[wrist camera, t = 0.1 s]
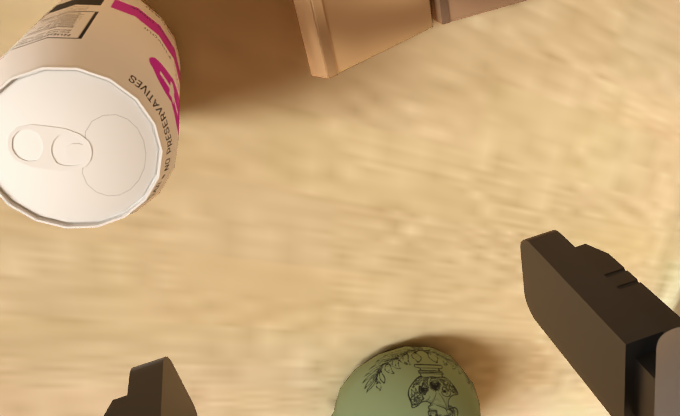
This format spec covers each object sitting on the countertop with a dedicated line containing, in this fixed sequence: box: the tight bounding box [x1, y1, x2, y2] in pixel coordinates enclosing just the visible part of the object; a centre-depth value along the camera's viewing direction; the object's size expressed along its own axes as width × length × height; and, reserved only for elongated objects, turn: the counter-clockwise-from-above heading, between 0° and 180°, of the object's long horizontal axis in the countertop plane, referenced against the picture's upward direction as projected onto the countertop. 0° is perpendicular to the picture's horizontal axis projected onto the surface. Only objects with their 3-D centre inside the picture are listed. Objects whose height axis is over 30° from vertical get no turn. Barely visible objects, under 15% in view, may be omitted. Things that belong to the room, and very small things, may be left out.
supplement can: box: [0, 0, 181, 229], centre depth 31 cm, size 8×8×15 cm
